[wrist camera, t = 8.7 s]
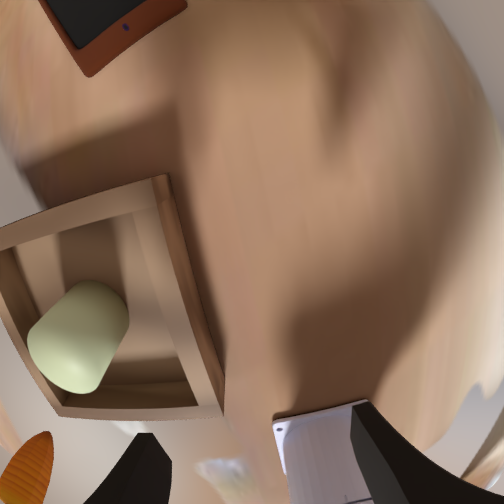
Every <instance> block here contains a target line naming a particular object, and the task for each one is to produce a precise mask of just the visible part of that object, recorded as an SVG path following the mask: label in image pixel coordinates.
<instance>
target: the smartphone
mask: <svg viewBox="0 0 504 504" xmlns="http://www.w3.org/2000/svg"><path fill="white" fill-rule="evenodd" d="M38 1H39V3H40V4H41V6H42V8H43V9H44V11H45V13H46V15H47V16H48V18H49V20H50V21H51V23H52V25H53V26H54V28H55V30H56V31H57V33H58V34H59V36H60V38H61V39H62V41H63V43H64V44H65V46H66V47H67V49H68V51H69V52H70V54H71V55H72V57H73V59H74V60H75V62H76V63H77V65H78V66H79V67H80V69H81V70H82V72H83V73H84V75H85V76H86V77H92V76H94V75H95V74H96V73H98V72H99V71H100V70H101V69H102V68H104V67H105V66H106V65H107V64H108V63H110V62H111V61H112V60H113V59H114V58H116V57H117V56H118V55H119V54H121V53H122V52H123V51H125V50H126V49H127V48H129V47H130V46H131V45H133V44H134V43H135V42H137V41H138V40H139V39H141V38H142V37H144V36H145V35H146V34H148V33H149V32H151V31H152V30H154V29H155V28H157V27H158V26H160V25H161V24H163V23H164V22H166V21H167V20H169V19H171V18H172V17H174V16H175V15H177V14H179V13H180V12H182V11H183V10H185V9H186V8H187V3H186V1H185V0H38Z"/></svg>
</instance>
